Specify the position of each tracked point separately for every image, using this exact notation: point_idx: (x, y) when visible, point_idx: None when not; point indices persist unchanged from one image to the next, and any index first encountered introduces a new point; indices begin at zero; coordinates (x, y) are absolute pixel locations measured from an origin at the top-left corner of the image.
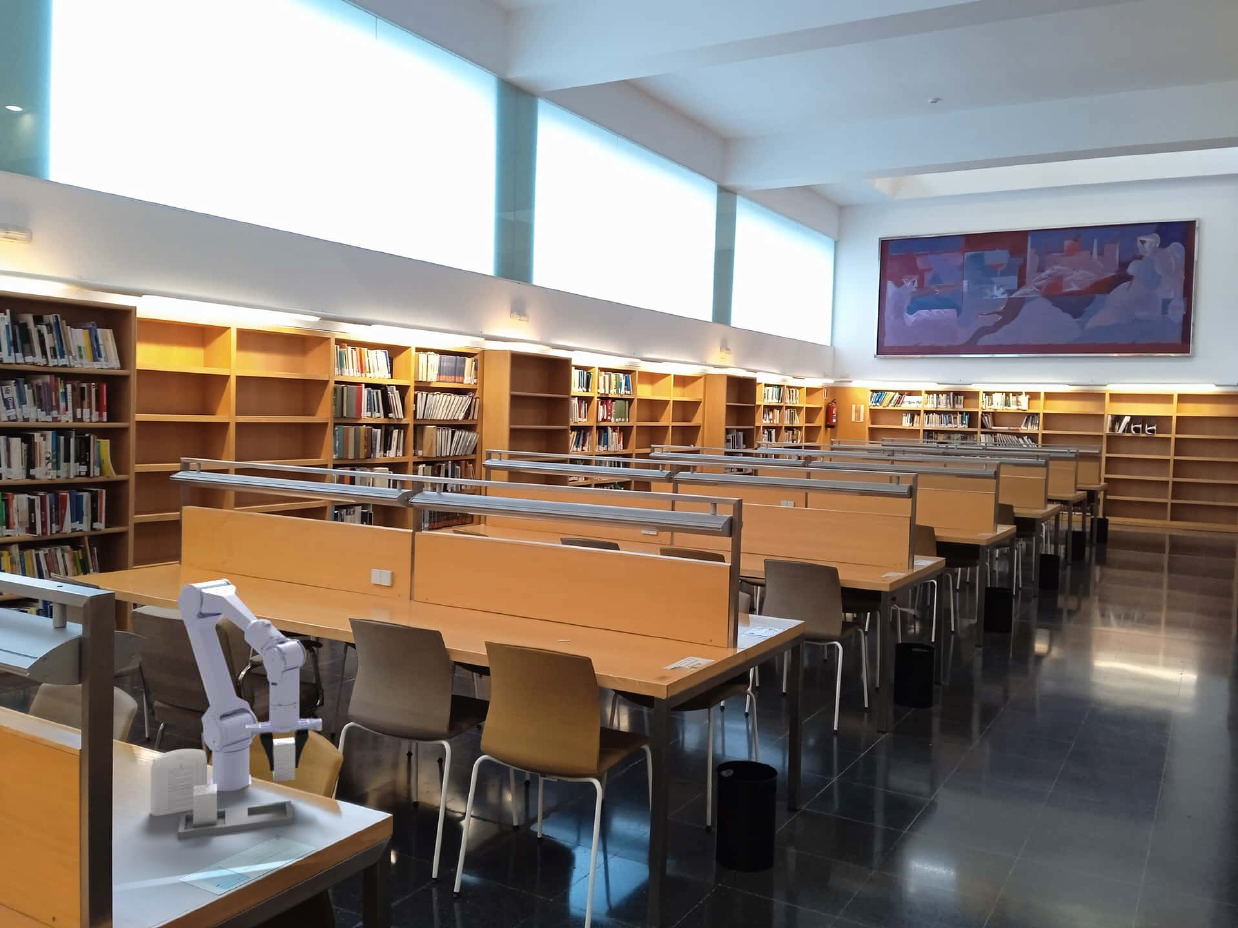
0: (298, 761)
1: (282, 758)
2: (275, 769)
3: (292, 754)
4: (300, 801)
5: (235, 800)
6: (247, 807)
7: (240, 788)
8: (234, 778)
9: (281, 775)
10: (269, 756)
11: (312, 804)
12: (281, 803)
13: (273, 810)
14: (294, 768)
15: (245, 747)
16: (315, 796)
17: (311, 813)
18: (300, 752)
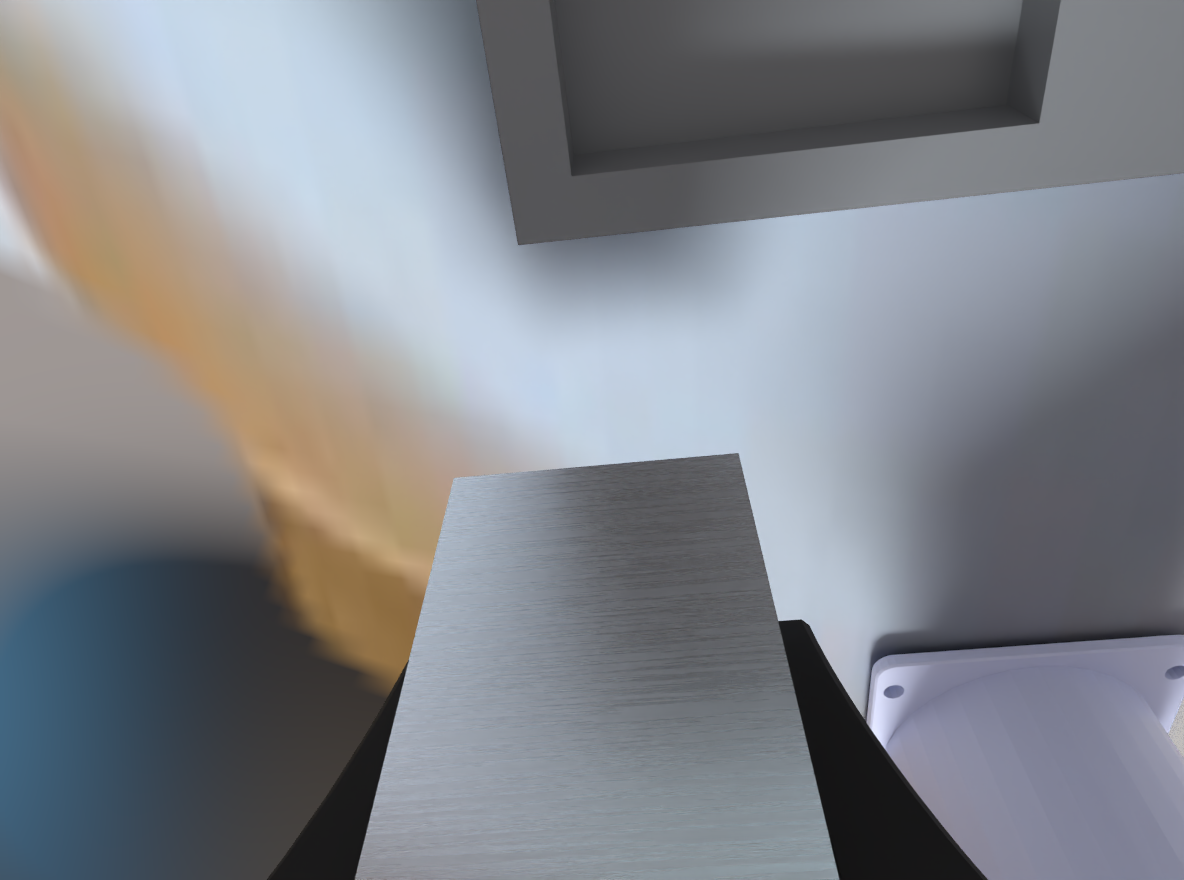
0: (377, 722)
1: (633, 736)
2: (742, 574)
3: (426, 808)
4: (456, 412)
5: (1016, 539)
6: (1035, 135)
7: (962, 691)
8: (1055, 760)
9: (638, 509)
10: (896, 816)
11: (324, 318)
12: (618, 174)
13: (707, 136)
14: (436, 587)
15: None
16: (339, 490)
17: (274, 61)
18: (288, 865)
